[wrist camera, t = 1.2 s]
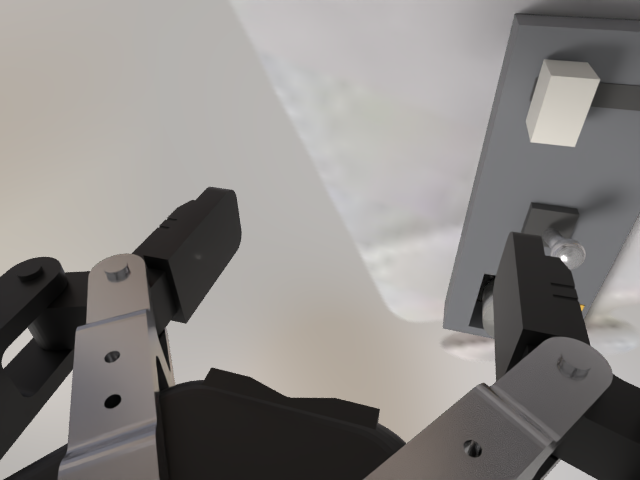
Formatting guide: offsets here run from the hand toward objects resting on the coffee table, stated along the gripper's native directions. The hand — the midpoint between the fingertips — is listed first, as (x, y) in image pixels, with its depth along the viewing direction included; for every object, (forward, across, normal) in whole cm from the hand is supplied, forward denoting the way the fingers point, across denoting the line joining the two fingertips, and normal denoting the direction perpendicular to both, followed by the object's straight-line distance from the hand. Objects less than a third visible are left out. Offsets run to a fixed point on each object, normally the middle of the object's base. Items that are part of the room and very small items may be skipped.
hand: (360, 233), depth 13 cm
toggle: (+14, -9, +8) cm, 18 cm away
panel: (+18, -9, +8) cm, 22 cm away
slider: (+15, -7, 0) cm, 16 cm away
